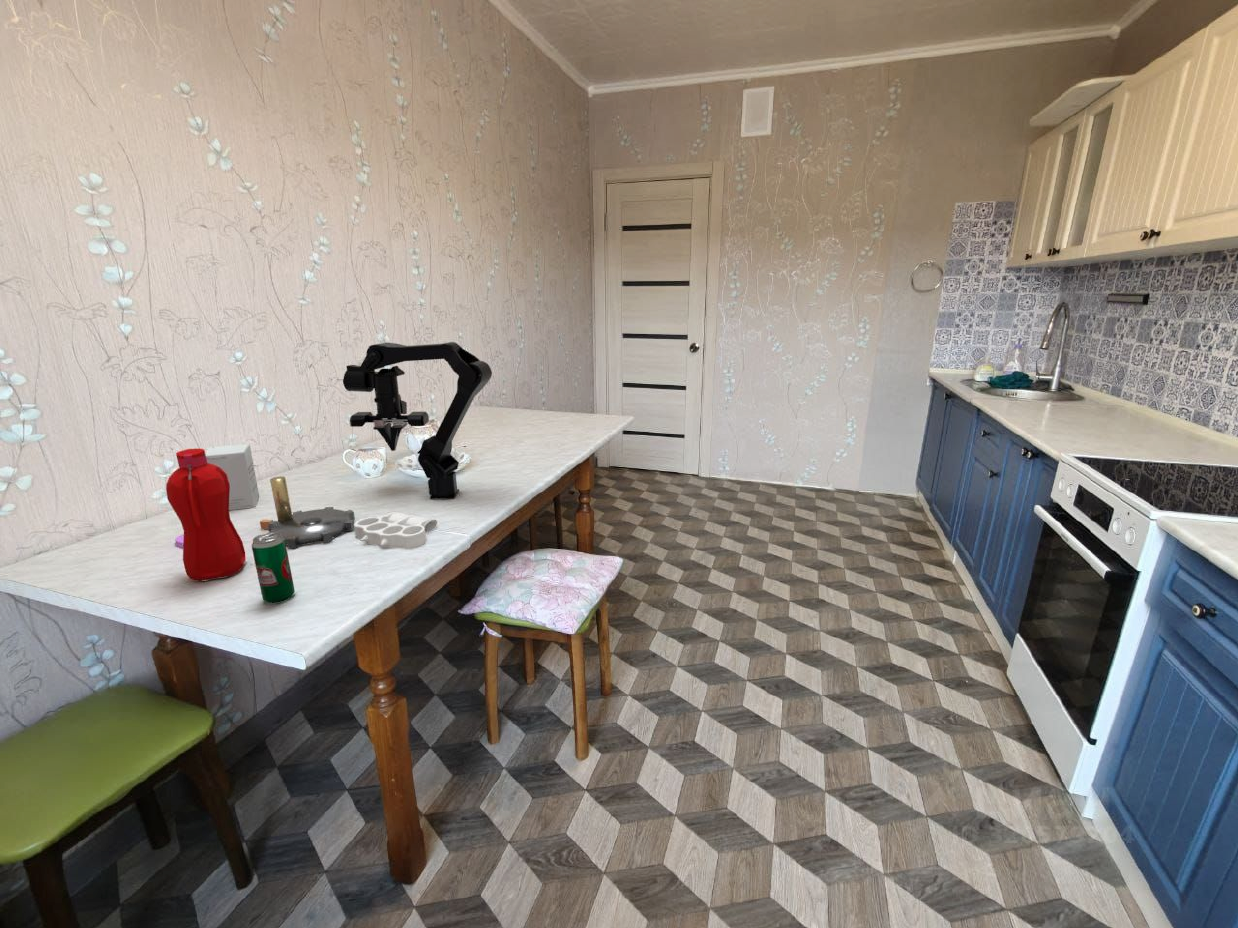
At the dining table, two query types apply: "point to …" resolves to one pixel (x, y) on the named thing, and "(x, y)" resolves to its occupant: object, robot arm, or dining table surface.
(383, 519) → the white brass knuckles
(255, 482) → the supplement box
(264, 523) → the orange rectangular block
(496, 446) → the dining table surface
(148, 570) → the dining table surface
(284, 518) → the sprocket
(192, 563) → the water bottle
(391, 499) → the dining table surface
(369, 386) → the robot arm
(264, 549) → the soda can
